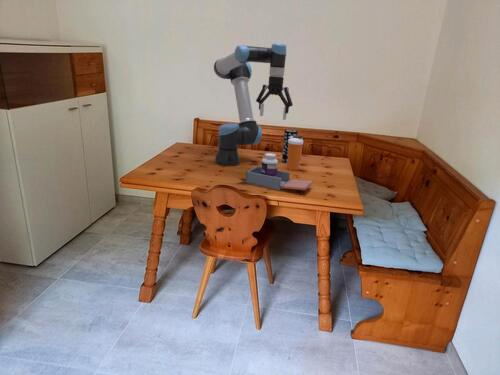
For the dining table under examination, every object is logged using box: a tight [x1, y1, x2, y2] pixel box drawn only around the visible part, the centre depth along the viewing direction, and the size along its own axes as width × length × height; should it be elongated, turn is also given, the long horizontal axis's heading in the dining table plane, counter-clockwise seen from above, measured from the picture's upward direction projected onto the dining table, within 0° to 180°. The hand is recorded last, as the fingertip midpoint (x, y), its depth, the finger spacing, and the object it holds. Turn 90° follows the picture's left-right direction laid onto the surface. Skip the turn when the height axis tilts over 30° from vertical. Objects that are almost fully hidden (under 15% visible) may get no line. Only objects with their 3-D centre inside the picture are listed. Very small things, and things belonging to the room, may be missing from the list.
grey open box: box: [245, 165, 291, 191], centre depth 180 cm, size 19×13×6 cm
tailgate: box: [280, 178, 314, 191], centre depth 173 cm, size 1×14×12 cm
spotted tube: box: [281, 129, 299, 164], centre depth 220 cm, size 8×8×20 cm
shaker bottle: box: [286, 135, 304, 171], centre depth 206 cm, size 9×9×20 cm
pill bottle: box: [261, 152, 279, 177], centre depth 178 cm, size 8×8×14 cm
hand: (272, 117), depth 186 cm, fingers open, 13 cm apart
